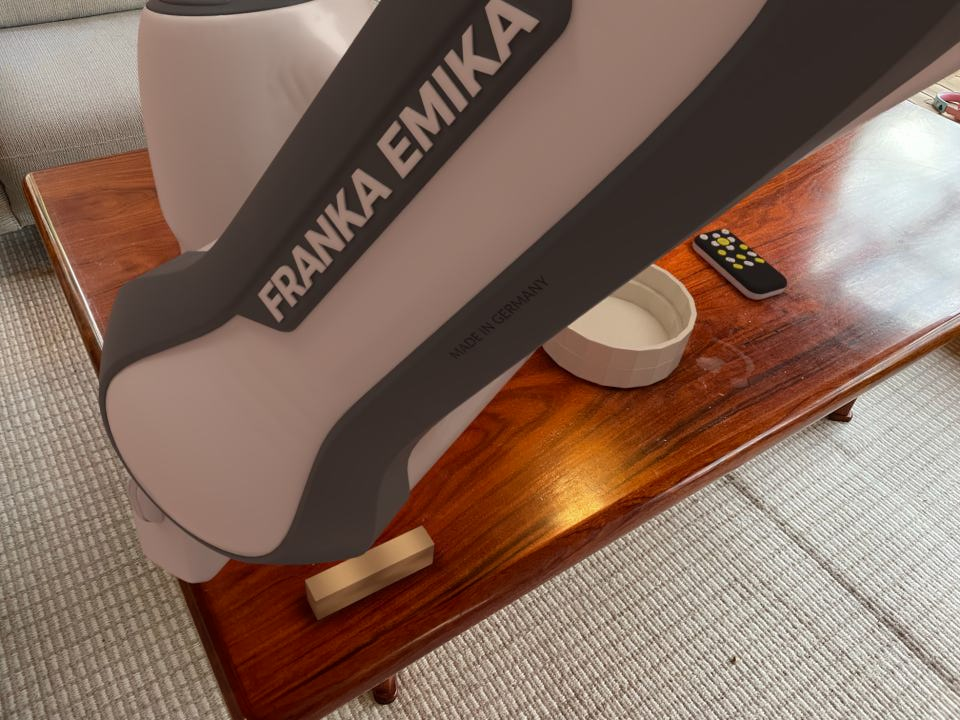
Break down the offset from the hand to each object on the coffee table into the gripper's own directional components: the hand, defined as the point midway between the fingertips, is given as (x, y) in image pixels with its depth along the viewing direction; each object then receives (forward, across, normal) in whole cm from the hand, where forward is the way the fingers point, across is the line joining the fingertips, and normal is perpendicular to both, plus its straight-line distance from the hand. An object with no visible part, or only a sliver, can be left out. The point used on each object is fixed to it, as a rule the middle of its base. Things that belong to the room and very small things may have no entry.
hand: (305, 491), depth 46 cm
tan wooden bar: (+15, +4, -2) cm, 16 cm away
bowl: (+15, +42, -8) cm, 46 cm away
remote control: (+15, +64, -18) cm, 69 cm away
